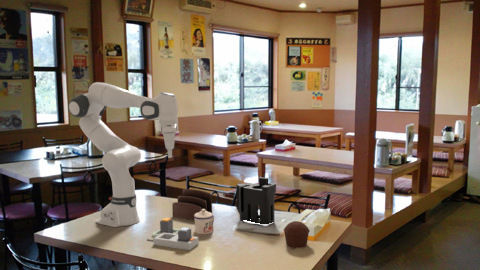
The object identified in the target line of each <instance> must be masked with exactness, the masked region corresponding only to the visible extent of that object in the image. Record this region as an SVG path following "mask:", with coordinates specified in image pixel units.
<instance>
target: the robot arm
mask: <svg viewBox="0 0 480 270" xmlns="http://www.w3.org/2000/svg"><path fill="white" fill-rule="evenodd" d="M107 107H108V108H111V109H127V108H138V109H139V111H140V114H141V116H142V118H143V119H145V120H148V121H155V120H158V125H159V126H158V127H159V128H158V129H159V132H161V133H162V135H163V140H164V146H165V149H166V150H167V157H168V159H171V158H173V150H174V149H175V142H176V141H175V139H176V138H175V137H176V133H177V132H178V131H179V118H178V111H179V110H178V100H177V96H176V95H175V94H174V93H171V92H159V93H158V94H157V95H156V96H155V97H148V96H144V95H140V94H137V93H135V92H131V91H130V90H127V89H124V88H123V87H120V86H116V85H113V84H110V83H107V82H99V81H96V82H93V83H92V84H91V85H90V86H89V88H88V91H87V93H84V94H79V95H77V96H74V97H72V98H71V99H70V100H69V102H68V103H67V108H68V112H69V114H71V115H72V116H73V117H75V118H79V121H78V125H79V127H80V130H82V133H84V135H85V136H86V137H87V138H88V140H89V141H90V142H91V143H92V144H93V145H94V147H96V148H97V149H98V150H99V151H101V152H104V153H105V154H104V155H103V156H102V159H101V160H102V161H101V164H102V166H103V168H104V169H105V170H106V171H107V172H108V174H109V176H110V179H111V185H112V186H111V187H112V195H111V196H110V197H108V200H109V201H110V203H108V204H107V205H106V206H105V207H104V208H102V209H101V212H100V217H99V218H97V219H96V220H95V223H96V224H100V225H104V226H108V227H112V228H119V227H123V226H124V227H125V226H131V225H135V224H137V223H139V222H140V217H139V214H138V209H137V194H136V188H135V179H134V178H133V177H132V176H131V174H130V171H129V169H130V168H132V167H134V166H135V165H137V164H138V163H139V161H140V160H141V157H142V153H141V151H140V149H139V148H138V147H136V146H133V145H131V144H129V143H128V142H126V141H125V140H123V139H121V138H120V137H119V136H118V135H116V134H115V133H114V132H113V131H112V130H111V128H109V127H108V126H107V124H106V123H105V122H103V121H102V120H101V117H100V116H102V115H104V113H105V111H106V109H107Z"/></svg>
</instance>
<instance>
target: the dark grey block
mask: <svg viewBox="0 0 480 270" xmlns="http://www.w3.org/2000/svg"><path fill="white" fill-rule="evenodd" d="M191 236H192V229H191V228H190V227H184V226H183V227H181V228H180V229H179V231H178V241H184V242H188V241H190V239H191V238H192V237H191Z"/></svg>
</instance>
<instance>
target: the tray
mask: <svg viewBox="0 0 480 270" xmlns="http://www.w3.org/2000/svg"><path fill="white" fill-rule="evenodd" d="M179 230H180V229H179V228H173V234H178V231H179ZM160 234H161V232H160V229H157V231H154V232H153V233H151V238H153V237H154V238H155V237H156V236H158V235H160Z"/></svg>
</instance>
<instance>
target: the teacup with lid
mask: <svg viewBox="0 0 480 270" xmlns="http://www.w3.org/2000/svg"><path fill="white" fill-rule="evenodd" d="M194 218H195V221H194V233H195V234H198V235H209V234H211V233H214V222H215V217H214V214H213V212H212V213H210V212H208V211H206V210H205V209H202V210H201V211H200V212H198V213H196V214H195V215H194Z"/></svg>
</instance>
